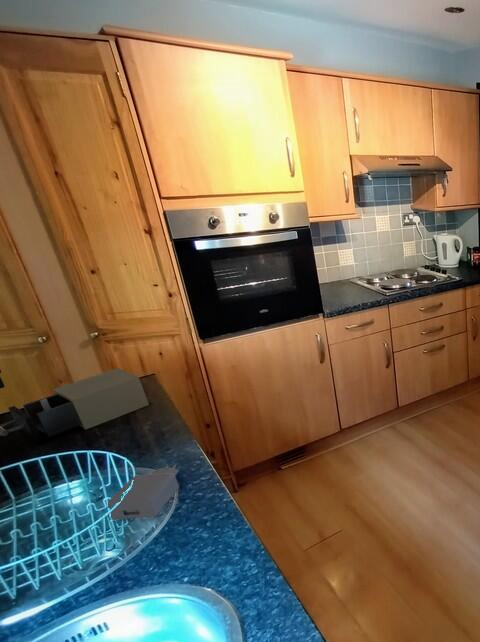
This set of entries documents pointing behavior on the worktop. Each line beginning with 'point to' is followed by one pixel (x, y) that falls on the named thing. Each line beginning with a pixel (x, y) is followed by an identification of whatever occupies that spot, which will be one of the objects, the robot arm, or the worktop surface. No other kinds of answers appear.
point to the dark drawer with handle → (44, 418)
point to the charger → (145, 494)
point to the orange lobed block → (45, 404)
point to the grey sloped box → (104, 396)
